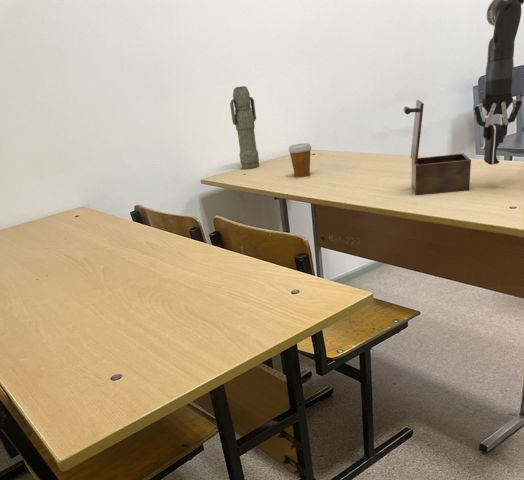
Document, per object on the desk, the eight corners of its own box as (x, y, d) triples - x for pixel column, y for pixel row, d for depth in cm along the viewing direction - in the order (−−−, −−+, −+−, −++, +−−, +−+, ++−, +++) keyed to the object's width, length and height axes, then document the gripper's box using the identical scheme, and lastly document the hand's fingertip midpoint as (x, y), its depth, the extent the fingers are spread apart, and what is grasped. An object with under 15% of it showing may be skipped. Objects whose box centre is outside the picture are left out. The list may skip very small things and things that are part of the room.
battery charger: (502, 164, 164) (505, 124, 158) (489, 165, 164) (492, 126, 159) (495, 159, 170) (498, 121, 164) (483, 161, 170) (485, 123, 165)
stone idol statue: (265, 165, 255) (256, 84, 238) (246, 170, 249) (235, 88, 232) (254, 164, 261) (244, 85, 244) (235, 169, 255) (224, 89, 238)
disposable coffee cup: (301, 172, 230) (298, 143, 224) (318, 173, 223) (316, 143, 217) (286, 177, 224) (283, 147, 218) (303, 178, 218) (300, 147, 212)
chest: (462, 182, 181) (463, 153, 176) (469, 190, 171) (471, 160, 166) (411, 186, 184) (411, 158, 179) (415, 195, 174) (415, 165, 169)
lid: (418, 100, 170) (403, 100, 171) (423, 103, 160) (406, 103, 161) (412, 157, 179) (397, 157, 180) (417, 164, 169) (401, 164, 170)
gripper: (476, 81, 153) (472, 143, 161) (528, 74, 151) (522, 137, 159) (470, 79, 160) (467, 139, 168) (521, 72, 157) (515, 134, 165)
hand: (494, 138), depth 163 cm, fingers closed on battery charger, 4 cm apart
